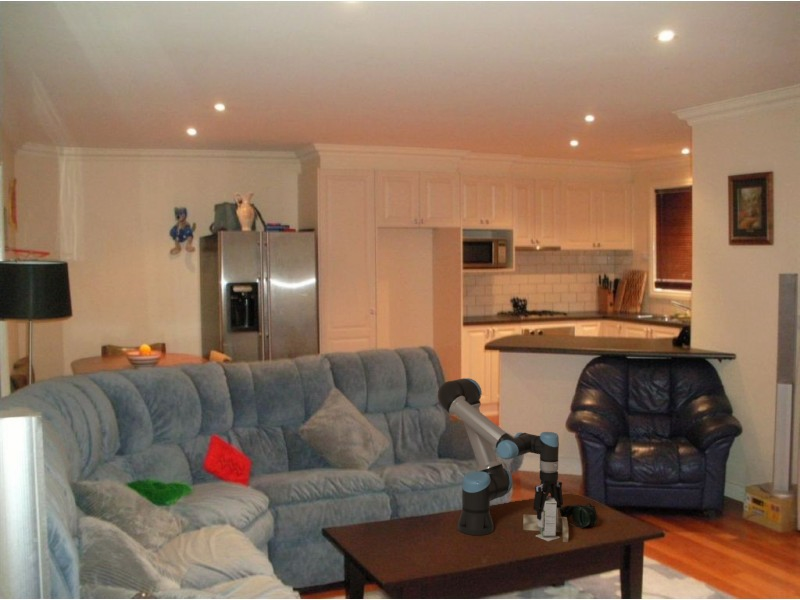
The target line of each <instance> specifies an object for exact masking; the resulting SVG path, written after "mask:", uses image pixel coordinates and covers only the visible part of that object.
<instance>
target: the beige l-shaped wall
mask: <svg viewBox="0 0 800 600" xmlns="http://www.w3.org/2000/svg"><path fill="white" fill-rule="evenodd" d="M522 518H523V523H522V527H523V528H522V530H523V531H535V532H537V531H538V532H540V527H539V526H538V519H537V514H523V517H522ZM567 518H568V517H561V516H558V524H556V533H561V536H562V542H563V543H569V523H568V522H569V521H567Z"/></svg>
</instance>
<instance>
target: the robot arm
mask: <svg viewBox="0 0 800 600" xmlns="http://www.w3.org/2000/svg"><path fill="white" fill-rule="evenodd" d="M437 391H438V392H437V399H438V403H439V404H440V406H441V407H442V408H443V409H444V410H445V412H447V413H448V414H450V415H452V416H456V417H457V418H458V419H460V420H461V421H462V422H463V425H464V427H465V431H466V434H467V437H468V439H469V442H470V445H471V448H472V451H473V455H474V457H475V461H476V463H477V465H478V466H477V469H476V471H471V472H468V473H466V474H465V475H464V476H463V478H462V484H461V488H462V489H461V490H462V492H461V493H462V495H461V497H462V499H461V500H462V502H461V503H462V504H461V513H460V516H459V518H458V522H457V529H458V531H459V532H460V533H463V534H466V535H471V536H484V535H489V534H491V533H493V532H494V521H493V517H492V515H491V513H490V509H491V506H490V505H491V504H490V503H491V501H493V500H495V499H498V498H502V497H505V495H507V494H509V493H510V492H511V490H512V488H513V482H514V481H513V477H512V474H511V472H510V470H507V468H504V466H503V464H502V462H500V461H498V458H497V457H496V456H497V455H496V454H495V451H494V448H493V446H494V447H495V448H496V452H497V454H498V456H499V457H500V458H501V459H503V460H510V459H514V458H517V457H519V456H523V455H526V454H528V453H531V454H535V455H539V469H540V470H539V480H540V484H539V485H535V486H534V489H535V491H534V492H535V493H534V497H533V498H534V501H533V507H532V510H534V511H536V515H537V519H538V526H539V527H542V528H544V512H543V508H544V504H545V501H546V498H547V497H549V494H550V497H552V498H554V499H555V500H556V502H557V506H556V524H558V517H559V515H560V508H561V507H562V506H563V505H564V499H563V490H562V486H563V482H562V481H559V471H558V470H559V448H560V441H559V439H560V438H559V434H558V433H556V432H552V431H542V432H541V433H540V435H536V434H530V433H527V432H517V433H516V434H515V435H514V437H513V436H511V435H510V434H509V433H508V432H506V431H505V430H503V429H502V428H501V427H499V426H498V425H497V424H496V423H495V422H494V421H493V420H491V419H489V417H488V416H486V415H484V414H483V413H482V412H481V411H480V407H481V406H482V405H481V397H482V393H483V392H482V388H481V386H480V384H479V383H478V381H476V380H475V379H473V378H470V377H467V378H465V377H464V378H459V379H455V380H454V379H453V380H449V381H445V382H444V383H442V384H441V385H440V386H439V389H438V390H437Z"/></svg>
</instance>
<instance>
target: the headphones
mask: <svg viewBox="0 0 800 600" xmlns="http://www.w3.org/2000/svg"><path fill="white" fill-rule="evenodd" d="M597 513H598V512H597V511H596V507H595V505H592V504H591V503H590V502H588V503H586V505H585V504H569V505H564V506H561V508H559V515H560V517H567V522H568V524H569V525H572V526H574V527H576V528H577V527H579V528H580V529H583V528H585V527H592V526H596V525H597V523H598V514H597ZM569 517H572V520H573V522H574V524H575V525H574V524H573V523H571V522H570V521H569Z"/></svg>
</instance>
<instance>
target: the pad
mask: <svg viewBox="0 0 800 600" xmlns="http://www.w3.org/2000/svg"><path fill="white" fill-rule="evenodd" d="M535 537H536V538H538V539H542V540H544V541H546V542H551V541H553V540H557V539H560V538H561V537H560V536H558V535H555V536H542V534H541V533H540V534H539V533H538V534H536V535H535Z"/></svg>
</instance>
